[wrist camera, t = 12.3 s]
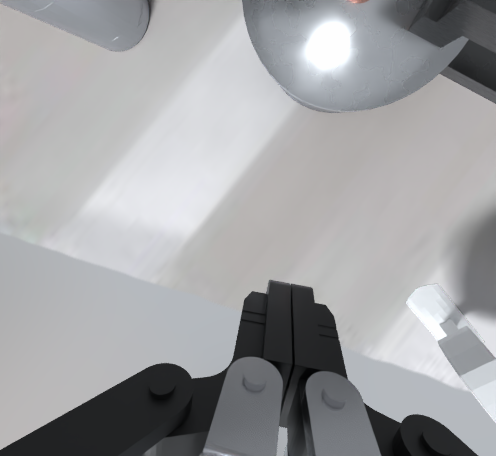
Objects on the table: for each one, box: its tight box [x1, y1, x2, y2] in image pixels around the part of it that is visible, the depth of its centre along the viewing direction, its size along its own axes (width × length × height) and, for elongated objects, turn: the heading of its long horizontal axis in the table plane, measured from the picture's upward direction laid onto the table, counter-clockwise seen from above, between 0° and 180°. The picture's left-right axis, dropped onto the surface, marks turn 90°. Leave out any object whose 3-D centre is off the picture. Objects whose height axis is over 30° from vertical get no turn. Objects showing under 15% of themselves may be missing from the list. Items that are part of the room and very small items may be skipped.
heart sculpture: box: [406, 284, 496, 423], centre depth 36 cm, size 16×5×18 cm, turn 41°
